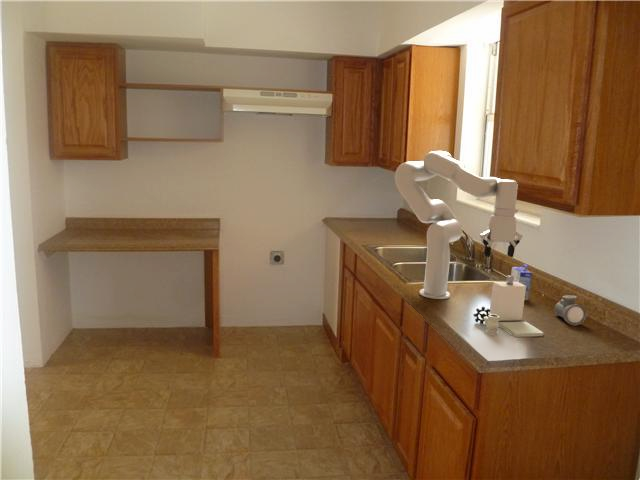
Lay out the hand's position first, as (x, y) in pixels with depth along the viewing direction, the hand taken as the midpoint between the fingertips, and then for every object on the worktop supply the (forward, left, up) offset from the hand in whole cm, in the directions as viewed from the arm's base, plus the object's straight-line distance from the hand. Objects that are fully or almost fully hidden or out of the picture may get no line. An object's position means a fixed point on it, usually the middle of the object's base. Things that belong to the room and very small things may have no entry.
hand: (498, 256), depth 215 cm
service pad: (+21, 0, -22) cm, 30 cm away
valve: (+19, -12, -22) cm, 32 cm away
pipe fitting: (+12, +25, -22) cm, 36 cm away
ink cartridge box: (-17, +22, -22) cm, 36 cm away
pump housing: (+10, 0, -22) cm, 25 cm away
